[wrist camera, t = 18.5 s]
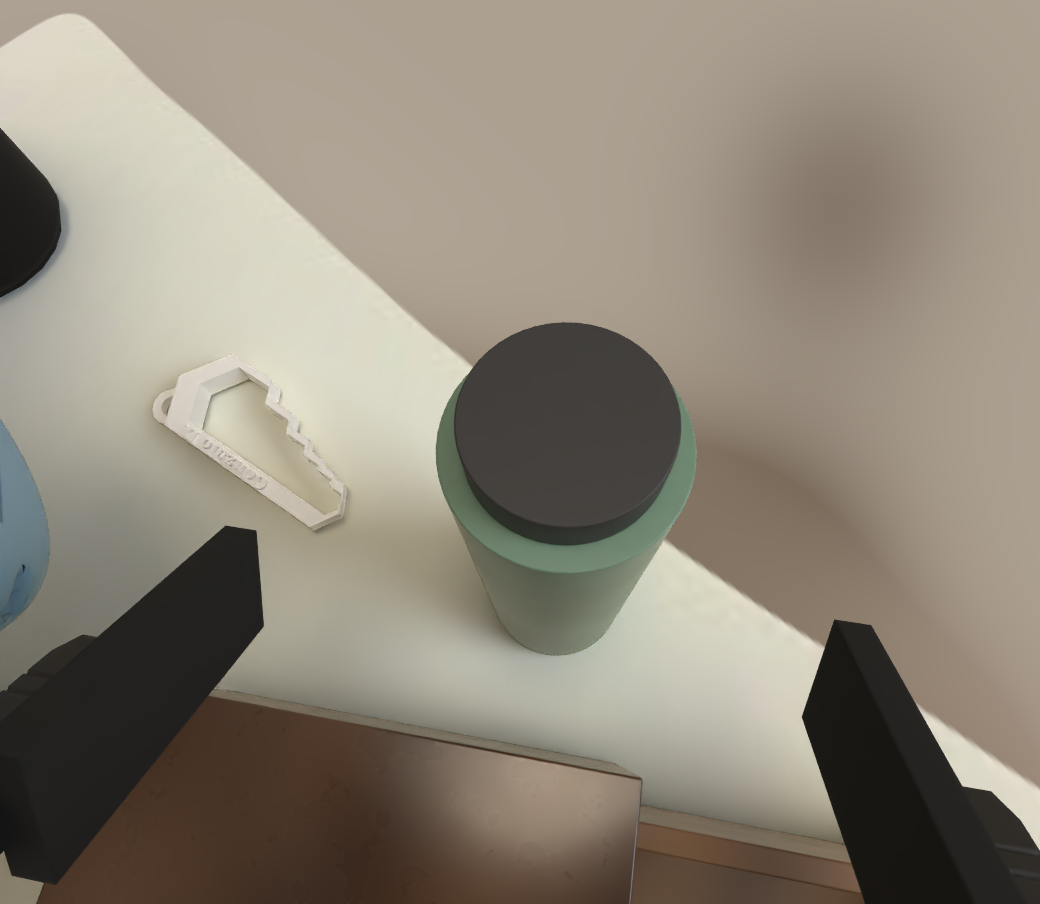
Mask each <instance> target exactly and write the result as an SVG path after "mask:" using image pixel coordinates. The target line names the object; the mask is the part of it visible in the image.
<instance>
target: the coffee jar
mask: <svg viewBox="0 0 1040 904" xmlns="http://www.w3.org/2000/svg"><path fill="white" fill-rule="evenodd" d="M60 233H61V221H60V210H59V201H58V198H57V195H56V193H55V191H54V190H53V188H52V187H51V185H50V183H49V182H48V180H47V179H46V178H45V176H44V175H43V174H42V173H41V172H40V171H39V170H38V169H37V168H36V167H35V165H34V164H33V163H32V162H31V161H30V160H29V159H28V158H27V157H26V156H25V155H24V153H23V152H22V151H21V150H20V149H19V148H18V147H17V146H16V145H15V144H14V142H13V141H12V140H11V139H10V138H9V137H8V136H7V135H6V134H5V133H4V131H3V130H2V129H1V128H0V297H2V296H4V295H6V294H7V293H9V292H11V291H13V290H15V289H17V288H19V287H20V286H22V285H24V284H25V283H26V282H27V281H28V280H29V279H31V278H32V277H33V276H34V275H35V274H36V273H38V272H39V271H40V270H41V269H42V268H43V267H44V265H45V264H46V262H47V261H48V259H49V258H50V257H51V255H52V254H53V252H54V251H55V249H56V246H57V243H58V240H59V236H60Z"/></svg>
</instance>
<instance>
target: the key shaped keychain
mask: <svg viewBox="0 0 1040 904" xmlns="http://www.w3.org/2000/svg"><path fill="white" fill-rule="evenodd" d="M248 379H250V380H252V381H253V382H255V383H256V384H258V385H259V386H261V387H262V388H264V389H265V390H267V391H268V393H267V397H266V401H265V405H266V406H267V407H268V408H269V409H270V411H271V412H272V413H273V414H274V415H276V416H278V417H279V418H281V419H282V420H284V421H285V422H287V423H288V424H287V429H286V434H287V435H288V436H289V437H290V438H291V439H292V440H293V441H294V442H296V443H298V444H299V445H301V446H302V447H304V451H303V455H304V456H305V458H306V459H307V460H308V461H309V462H312V463H313V464H315V465H316V466H318V469H317V470H318V471H319V472H320V473H321V474H322V475H323V476H325V477H326V478H328V479H329V480H331V484H330V487H331V488H332V489H333V490H334V491H335V492H337V493H338V494H339V495H341V498H340V504H339V508H338V509H336V510H334V511H332V512H330V513H327V514H325V515H324V514H323V513H321V512H320V511H318V510H317V509H316V508H314V507H313V506H311V505H310V504H308V503H307V502H305V501H304V500H303V499H301V498H300V497H298V496H297V495H295V494H294V493H293V492H291V491H290V490H288V489H287V488H285V487H284V486H282V485H281V484H280V483H278V482H277V481H275V480H274V479H272V478H271V477H269V476H268V475H267V474H265V473H264V472H262V471H261V470H259V469H258V468H257V467H255V466H254V465H252V464H251V463H249V462H248V461H246V460H245V459H244V458H242V457H241V456H239V455H238V454H236V453H235V452H233V451H232V450H231V449H229V448H228V447H226V446H225V445H223V444H222V443H221V442H219V441H218V440H216V439H215V438H213V437H212V436H210V435H209V434H208V433H206V432H205V431H203V430H202V427H203V424H204V420H205V416H206V413H207V409H208V405H209V402H210V398H211V395H213V394H215V393H217V392H220V391H222V390H224V389H227V388H229V387H231V386H234V385H236V384H239V383H241V382H243V381H246V380H248ZM280 393H281V391H280V390H279V389H278V387H277V386H276V385H275V384H274V382H273V381H272V380H271V379H269V378H268V377H266V376H265V375H263V374H262V373H260V372H258V371H257V370H255V369H254V368H252V367H251V366H249V365H248V364H246V363H245V362H243V361H241V360H240V359H238V358H237V357H235V356H234V355H232V354H230V355H228V356H225V357H223V358H220V359H218V360H215V361H213V362H211V363H208V364H206V365H203V366H201V367H198V368H196V369H193V370H191V371H189V372H186V373H184V374H181V375H179V377H178V381H177V384H176V388H171V389H168V390H166V391H164V392H163V393H161V394H160V395H159V396H158V397H157V398H156V400H155V402H154V404H153V408H152V412H153V415H154V417H155V419H156V420H157V421H159V422H160V423H161V424H163V425H164V426H166V427H168V428H169V429H171V430H172V431H173V432H174V433H176V434H177V435H178V436H180V437H181V438H183V439H184V440H185V441H187V442H188V443H190V444H191V445H192V446H194V447H195V448H197V449H198V450H200V451H201V452H202V453H204V454H205V455H207V456H208V457H209V458H211V459H212V460H214V461H215V462H217V463H218V464H220V465H221V466H222V467H224V468H225V469H227V470H228V471H230V472H231V473H232V474H234V475H235V476H237V477H238V478H239V479H241V480H242V481H244V482H245V483H247V484H248V485H250V486H251V487H252V488H254V489H255V490H257V491H258V492H260V493H261V494H262V495H264V496H265V497H267V498H268V499H270V500H271V501H273V502H274V503H275V504H277V505H278V506H280V507H281V508H282V509H284V510H285V511H287V512H288V513H290V514H291V515H292V516H294V517H295V518H297V519H298V520H299V521H301V522H302V523H304V524H305V525H307V526H308V527H309V528H311V529H312V530H314V531H315V530H317V529H319V528H321V527H323V526H326V525H328V524H330V523H332V522H334V521H336V520H339V519H341V518H343V515H344V509H345V503H346V497H347V491H348V488H347V487H346V486H345V484H343V483H342V482H340V481H339V480H337V479H336V477H337V475H336V474H335V473H334V472H333V471H332V470H330V469H329V468H328V467H326V462H325V461H324V460H323V459H322V458H320V457H319V456H317V455H316V454H314V453H313V449H314V445H313V444H312V443H311V442H310V440H309V439H308V438H306V437H305V436H303V435H302V434H300V433H299V432H297V431H298V426H299V421H298V420H297V418H296V417H295V416H294V415H293V414H292V413H291V412H290V411H288V410H287V409H285V408H284V407H282V406H281V405H279V404H278V401H279V397H280ZM170 404H171V405H170ZM169 405H170V408H169V411H168V415H167V408H168V407H169Z"/></svg>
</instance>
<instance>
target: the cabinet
mask: <svg viewBox="0 0 1040 904" xmlns="http://www.w3.org/2000/svg"><path fill="white" fill-rule="evenodd" d="M642 782H643V781H642V778H640V777H638V776H636V775H635V774H633V773H631V772H629V771H627V770H625V769H624V768H622V767H620V766H618V765H616V764H615V763H610V762H604V761H599V760H594V759H588V758H583V757H578V756H573V755H567V754H562V753H557V752H551V751H546V750H541V749H536V748H530V747H525V746H520V745H514V744H509V743H504V742H499V741H493V740H488V739H483V738H477V737H472V736H467V735H462V734H456V733H451V732H446V731H440V730H435V729H430V728H425V727H419V726H414V725H409V724H403V723H398V722H393V721H387V720H382V719H377V718H372V717H366V716H361V715H356V714H350V713H345V712H340V711H335V710H329V709H324V708H319V707H313V706H308V705H303V704H298V703H292V702H287V701H282V700H276V699H271V698H266V697H261V696H255V695H250V694H245V693H239V692H234V691H226V690H217V689H213V690H212V692H211V693H210V694H209V695H208V696H207V698H206V699H205V700H204V701H203V703H202V704H201V705H200V706H199V708H198V709H197V710H196V711H195V713H194V714H193V715H192V716H191V718H190V719H189V720H188V721H187V723H186V724H185V725H184V726H183V728H182V729H181V730H180V731H179V733H178V734H177V735H176V736H175V738H174V739H173V740H172V741H171V743H170V744H169V745H168V746H167V748H166V749H165V750H164V751H163V753H162V754H161V755H160V756H159V758H158V759H157V760H156V761H155V763H154V764H153V765H152V766H151V767H150V769H149V770H148V771H147V772H146V774H145V775H144V776H143V777H142V779H141V780H140V781H139V782H138V784H137V785H136V786H135V787H134V789H133V790H132V791H131V792H130V794H129V795H128V796H127V797H126V799H125V800H124V801H123V802H122V804H121V805H120V806H119V807H118V809H117V810H116V811H115V812H114V814H113V815H112V816H111V817H110V819H109V820H108V821H107V822H106V824H105V825H104V826H103V827H102V829H101V830H100V831H99V832H98V834H97V835H96V836H95V837H94V838H93V840H92V841H91V842H90V843H89V845H88V846H87V847H86V848H85V850H84V851H83V852H82V853H81V855H80V856H79V857H78V858H77V860H76V861H75V862H74V863H73V865H72V866H71V867H70V868H69V870H68V871H67V872H66V873H65V875H64V876H63V877H62V878H61V880H60V881H59V882H58V883H57V885H53V884H48V883H44V885H43V887H42V890H41V893H40V895H39V898H38V901H37V903H36V904H631V903H632V892H633V881H634V870H635V859H636V848H637V837H638V826H639V815H640V804H641V793H642Z"/></svg>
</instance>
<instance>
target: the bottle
mask: <svg viewBox="0 0 1040 904" xmlns="http://www.w3.org/2000/svg"><path fill="white" fill-rule="evenodd" d="M696 460H697V454H696V440H695V435H694V429H693V425H692V423H691V419H690V417H689V414H688V411H687V409H686V407H685V405H684V403H683V401H682V399H681V398H680V396H679V394H678V393H677V391H676V390H675V388H674V387H673V385H672V384H671V383H670V381H669V379H668V377H667V376H666V374H665V373H664V371H663V370H662V368H661V367H660V366H659V364H658V363H657V362H656V361H655V360H654V359H653V358H652V357H651V356H650V355H649V354H648V353H647V352H646V351H644V350H643V349H642V348H641V347H640V346H638V345H637V344H635V343H634V342H632V341H631V340H629V339H628V338H625V337H624V336H622V335H619V334H618V333H615V332H613V331H610V330H608V329H605V328H601V327H598V326H593V325H588V324H582V323H565V322H564V323H551V324H545V325H540V326H535V327H532V328H529V329H526V330H523V331H521V332H518V333H516V334H514V335H511V336H510V337H508V338H506V339H504V340H503V341H501V342H499V343H498V344H497V345H495V346H494V347H493V348H492V349H490V350H489V351H488V352H487V353H486V354H485V355H484V356H483V357H482V358H481V359H480V360H479V361H478V362H477V363H476V365H475V366H474V367H473V369H472V370H471V371H470V373H469V374H468V375H467V376H466V377H465V378H464V379H463V381H462V382H461V383H460V384H459V386H458V387H457V388H456V390H455V391H454V393H453V395H452V396H451V398H450V400H449V401H448V403H447V406H446V408H445V410H444V413H443V415H442V418H441V422H440V425H439V429H438V434H437V442H436V465H437V471H438V477H439V481H440V484H441V487H442V490H443V494H444V496H445V498H446V501H447V503H448V505H449V507H450V510H451V512H452V514H453V516H454V518H455V521H456V523H457V525H458V527H459V530H460V532H461V534H462V536H463V539H464V541H465V543H466V545H467V548H468V550H469V552H470V554H471V557H472V559H473V561H474V563H475V566H476V568H477V570H478V572H479V575H480V577H481V579H482V581H483V584H484V586H485V588H486V590H487V593H488V595H489V597H490V599H491V602H492V604H493V606H494V608H495V611H496V613H497V615H498V617H499V619H500V621H501V623H502V625H503V626H504V628H505V629H506V631H507V632H508V633H509V634H510V635H511V636H512V637H513V638H514V639H515V640H516V641H517V642H519V643H520V644H521V645H523V646H524V647H526V648H528V649H530V650H532V651H535V652H538V653H541V654H546V655H557V656H558V655H568V654H572V653H576V652H579V651H581V650H584V649H586V648H587V647H589V646H591V645H592V644H594V643H595V642H596V641H598V640H599V639H600V638H601V637H602V636H603V635H604V633H605V632H606V631H607V630H608V628H609V627H610V625H611V623H612V622H613V620H614V619H615V617H616V615H617V614H618V612H619V611H620V609H621V607H622V606H623V604H624V603H625V601H626V599H627V598H628V596H629V595H630V593H631V591H632V590H633V588H634V587H635V585H636V583H637V582H638V580H639V579H640V577H641V575H642V574H643V572H644V571H645V569H646V567H647V566H648V564H649V563H650V561H651V559H652V558H653V556H654V555H655V553H656V551H657V550H658V548H659V547H660V545H661V543H662V542H663V540H664V539H665V537H666V535H667V534H668V532H669V531H670V529H671V527H672V526H673V524H674V523H675V521H676V519H677V518H678V516H679V514H680V512H681V511H682V509H683V507H684V506H685V504H686V501H687V499H688V497H689V494H690V492H691V489H692V485H693V481H694V477H695V470H696Z"/></svg>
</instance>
